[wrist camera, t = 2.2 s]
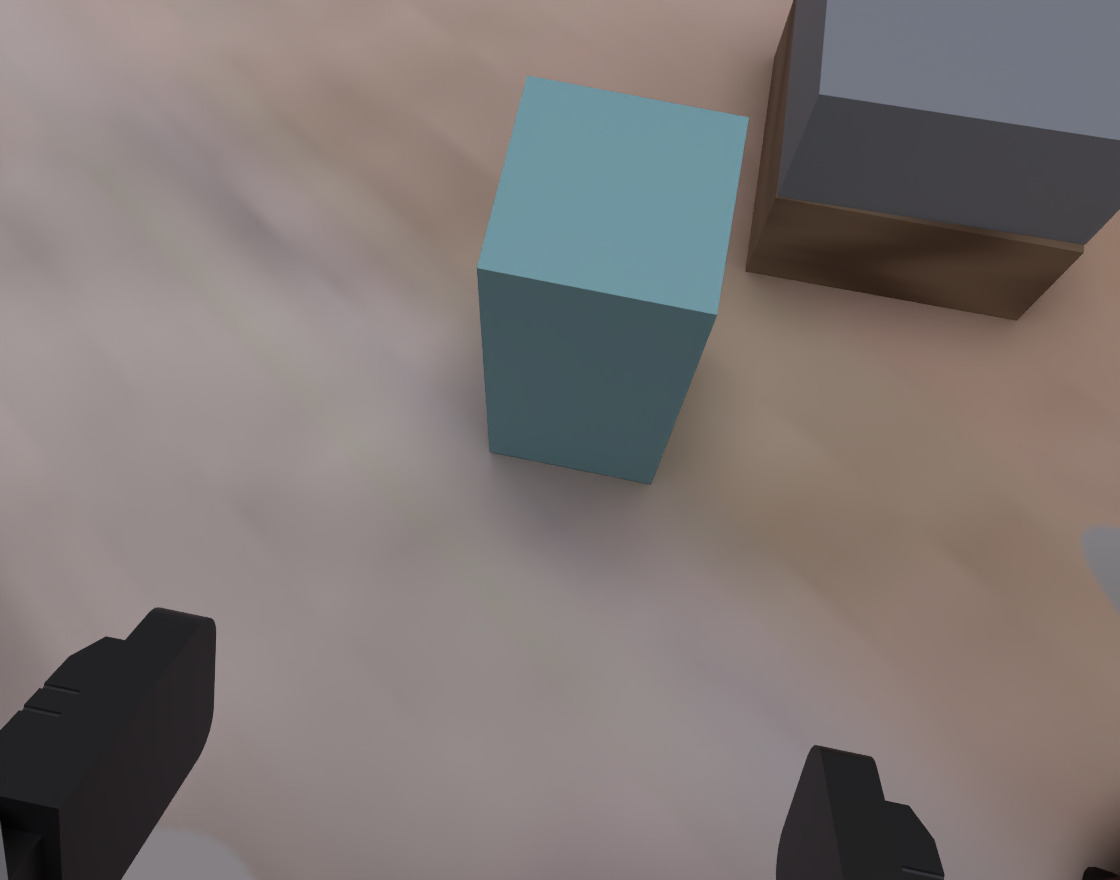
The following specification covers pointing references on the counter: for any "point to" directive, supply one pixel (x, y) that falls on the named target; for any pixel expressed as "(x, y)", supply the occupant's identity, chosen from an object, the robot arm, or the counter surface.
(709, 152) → the teal block
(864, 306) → the counter surface
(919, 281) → the bottom slab
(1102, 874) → the mate gourd
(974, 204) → the top slab
